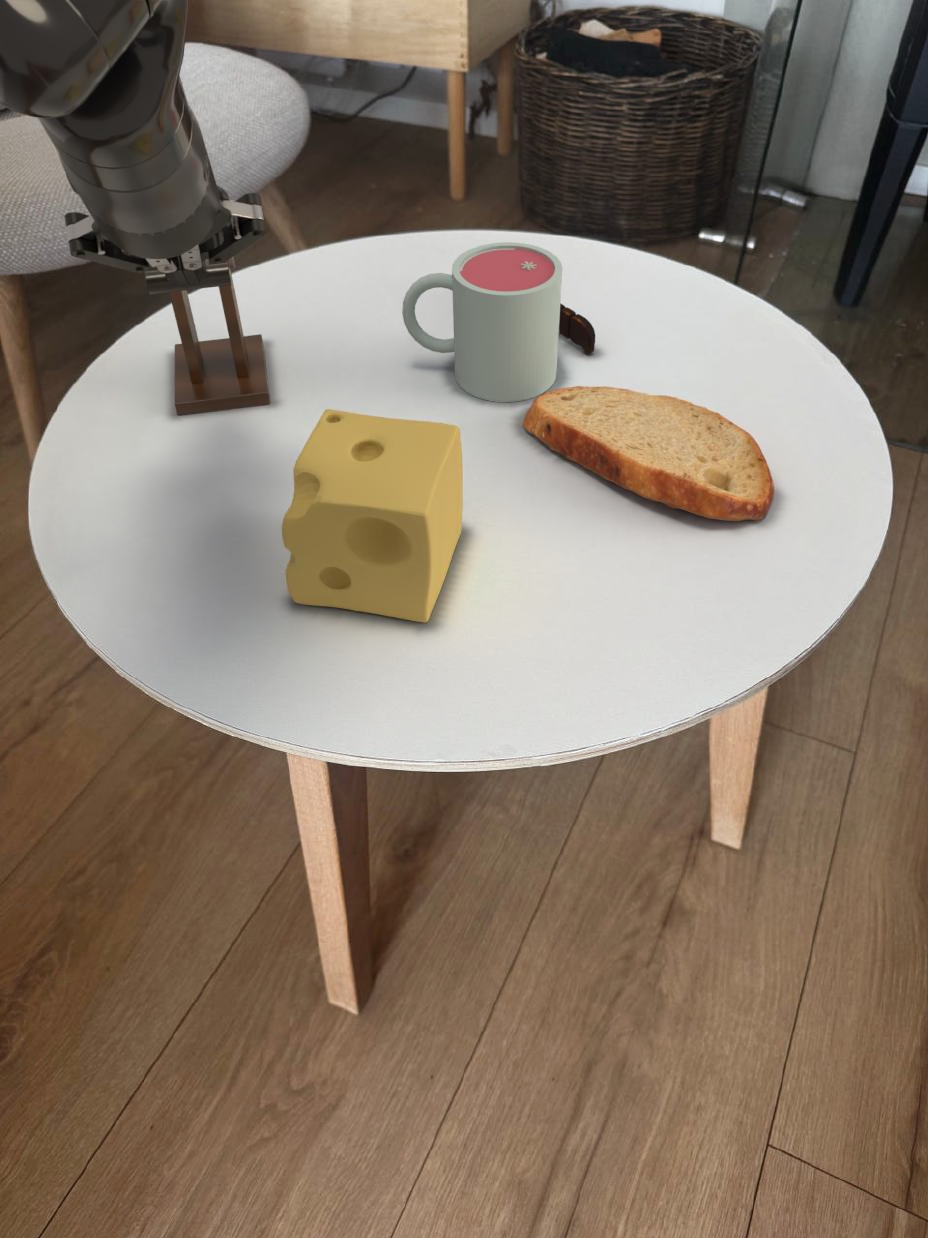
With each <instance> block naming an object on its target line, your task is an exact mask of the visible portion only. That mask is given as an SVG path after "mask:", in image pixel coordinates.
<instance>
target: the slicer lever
mask: <svg viewBox="0 0 928 1238" xmlns="http://www.w3.org/2000/svg"><path fill="white" fill-rule="evenodd" d="M205 264H206V270H207V276H206V278H199V281H200V285H195V286H187V287H179V285H178V283H177V281H173V282H171V281H169V280H167V278H166V276H165V274H164V273H163V272H160V271H159V270H158V269H157V270H148V271H146V272H144V280H145V285H146V288H147V292H148V294H149V295H153V294H163V293H169V292H173V291H182V290H187V291H190V290H199V289H208V288H216V287H218V288H219V286H228V285H232V279H233V277H232V278H231V274H232V271H231V272H230V267H229V264H228V263H221V264H214V263H211V262H210V261H209V259H207V260H205Z"/></svg>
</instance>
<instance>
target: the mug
mask: <svg viewBox="0 0 928 1238" xmlns="http://www.w3.org/2000/svg"><path fill="white" fill-rule="evenodd" d="M562 281H563V264H562V262H561V260H560V259H559V258H558V257H557V255H555V254H554V253H552V252H551V251H549V250H547V249H545V248H543V247H540V246H537V245H533V244H529V243H522V242H514V241H513V242H512V241H511V242H509V241H507V242H504V241H503V242H493V243H486V244H481V245H477V246H475V247H472V248H470V249H468V250H466V251H464V252H462V253H461V254H460V255H458V256H457V257H456V258H455V260H454V261H453V262H452V266H451V274H450V273H444V272H436V273H428V274H426V275H424V276H421V277H419V278H418V279H417V280H416V281H414V282H413V283H412V284H411V285H410V287H409V288H408V289H407V291H406V292H405V295H404V298H403V301H402V311H401V314H402V319H403V323H404V326H405V328H406V330H407V332H408V334H409V335H410V336H411V337H412V339H413V340H414V341H415V342H416V343H417V344H419V345H420V346H421V347H422V348H425V349H426V350H429V351H431V352H435V353H441V354H449V353H453V355H454V357H453V359H454V377H455V381H456V383H457V385H458V386H459V387H460V388H461V389H462V390H463V391H464V392H466V393H468V395H471V396H473V397H476V398H478V399H481V400H484V401H490V402H497V403H516V402H521V401H527V400H531V399H533V398H535V397H536V398H537V397H539V396H541V395H543V394H544V393H546V392H548V390H549V389H550V388H551V387H552V386H553V385H554V383H555V381H556V378H557V369H558V368H557V367H558V355H559V354H558V353H559V352H558V351H559V335H560V333H559V318H560V303H561V299H562V298H561V297H562ZM435 288H436V289H438V288H441V289H447V290H450V291H452V320H453V321H452V322H453V337H452V338H447V339H443V338H437V337H435V336H433V335H430V334H429V333H428V332H426V331H425V330H424V329H423V328H422V327H421V325H420V324H419V322H418V320H417V316H416V305H417V302H418V300H419V298H420V297H421V296H422V295H423V294H424V293H425V292H426V291H428V290H431V289H435Z"/></svg>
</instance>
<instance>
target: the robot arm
mask: <svg viewBox="0 0 928 1238" xmlns="http://www.w3.org/2000/svg"><path fill="white" fill-rule="evenodd" d="M189 10H190V0H0V105H1V106H3V107H4V108H6V109H9V110H10V111H12V112H15V113H18V114H20V115H24V116H28V117H32V118H37V120H38V121H39V123H40V125H41V126H42V128H43V130H44V131H45V133H46V135H47V137H48V138H49V139H50V141H51V144H52V145H53V146H54V148H55V150H56V151H57V154H58V158H59V161H60V163H61V166H62V168H63V171H64V174H65V176H66V179H67V182H68V183H69V185H70V187H71V189H72V191H73V192H74V193H75V194H76V195H77V196H78V197H79V198H80V200H81V202H82V203H83V205H84V207H85V208H86V210H87V211H88V213H89V215H88V214H85V213H83V212H79V211H71V212H67V213H65V214H64V215H63V216H64V223H65V232H66V237H67V243H68V247H69V253H70V256H72V257H73V258H77V259H80V260H85V261H89V262H93V263H97V264H101V265H105V266H108V267H113V268H117V269H121V270H123V271H127V272H131V273H137V274H142V273H145V272H147V271H150V266H151V267H152V268H157V270H159V271H160V272H163V273H164V274H165V276H166V278H167V280H169V281H171V282H173V281H177V283H178V285H179V287H187V286H195V285H200V281H199V278H206V276H207V270H206V264H205V260H207V259H209V261H210V262H211V263H212V264H214V263H216V264H220V263H224V262H226V261H227V260H229V259H230V258H232V257H235V256H236V255H238V254H240V253H241V252H242V251H244V250H246V249H247V248H248V247H250V246H252V245H253V244H254V243H256V242H257V241H259V240H260V239H262V238H264V237H265V236H266V235H267V227H266V223H265V222H266V221H265V215H264V209H263V204H262V198H261V194H259V193H256V192H249V193H245V194H243V195H242V196H240V197H239V198H237V199H236V200H235V199H230V196H229V194H228V192H227V191H226V190H225V189H224V188H223V187H221V186H220V185H217V182H216V178H215V174H214V171H213V168H212V167H213V166H212V163H211V160H210V157H209V154H208V151H207V146H206V143H205V140H204V136H203V133H202V130H201V127H200V124H199V121H198V120H197V116H196V115H195V113H194V111H193V109H192V108H191V105H190V104H189V102H188V97H187V95H186V92H185V89H184V85H183V81H182V79H181V70H182V65H183V61H184V56H185V46H186V37H187V28H188V19H189ZM124 252H126V253H127V254H125V253H124Z"/></svg>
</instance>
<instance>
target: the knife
mask: <svg viewBox="0 0 928 1238" xmlns="http://www.w3.org/2000/svg"><path fill="white" fill-rule="evenodd" d="M559 335H561V336H562V337H563V338H565V339H566V340H570V341H571V342H572V343H573V344H575V345H577V346H579V347H580V348H581V349H582V350H583V352H584V354H585V356H588V355H591V354H593V353H594V352H595V346H596V332H595V328H594V326H593V324H592V323H591V322H590V320H589V319H587V318H586V317H584V316H583V315H581V314H580V313H576V311H575V310H573V309H572V308H569V307H566V306H565V305H564V304H563V303H561V302H560V318H559Z"/></svg>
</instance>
